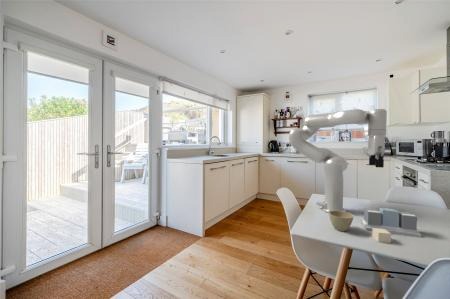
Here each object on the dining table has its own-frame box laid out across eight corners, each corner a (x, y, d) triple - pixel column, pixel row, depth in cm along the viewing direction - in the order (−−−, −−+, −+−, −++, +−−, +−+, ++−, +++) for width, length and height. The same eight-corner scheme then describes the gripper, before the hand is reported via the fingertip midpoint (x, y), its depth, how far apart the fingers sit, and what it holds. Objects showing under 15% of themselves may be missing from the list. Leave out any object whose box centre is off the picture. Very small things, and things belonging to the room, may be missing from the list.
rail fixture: (366, 230, 93) (366, 212, 93) (360, 222, 102) (361, 206, 101) (421, 237, 87) (421, 218, 86) (410, 228, 95) (410, 211, 95)
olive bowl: (353, 235, 88) (353, 219, 88) (327, 230, 93) (327, 215, 93) (353, 227, 96) (353, 212, 96) (329, 223, 102) (329, 209, 101)
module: (382, 225, 93) (383, 210, 93) (379, 222, 97) (379, 207, 97) (398, 227, 91) (399, 212, 91) (394, 223, 95) (394, 209, 95)
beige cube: (378, 242, 83) (378, 232, 82) (372, 237, 87) (372, 228, 87) (390, 243, 82) (391, 233, 82) (384, 238, 86) (384, 228, 86)
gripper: (363, 134, 114) (362, 164, 114) (374, 132, 97) (373, 167, 98) (379, 133, 111) (378, 164, 112) (393, 132, 95) (391, 168, 96)
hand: (375, 166), depth 105 cm, fingers open, 9 cm apart
